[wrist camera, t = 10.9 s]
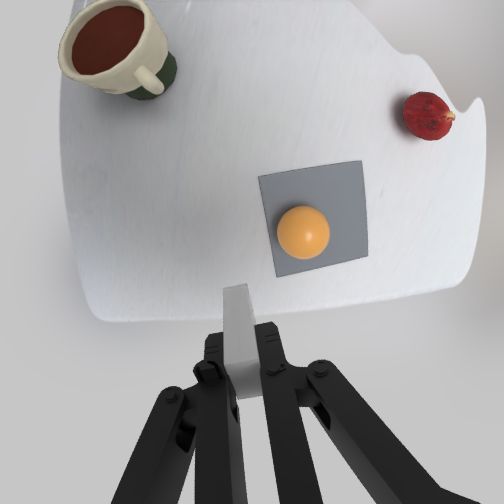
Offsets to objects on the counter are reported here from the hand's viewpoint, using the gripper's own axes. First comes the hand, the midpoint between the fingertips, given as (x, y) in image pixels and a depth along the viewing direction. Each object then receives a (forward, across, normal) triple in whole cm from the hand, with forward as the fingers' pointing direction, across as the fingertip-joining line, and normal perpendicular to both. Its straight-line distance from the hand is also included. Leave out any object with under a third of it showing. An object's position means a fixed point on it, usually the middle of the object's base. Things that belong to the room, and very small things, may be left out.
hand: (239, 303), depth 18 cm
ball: (+12, +7, -1) cm, 14 cm away
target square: (+14, +10, -1) cm, 17 cm away
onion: (+15, +24, +10) cm, 30 cm away
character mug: (+15, -5, +19) cm, 25 cm away
